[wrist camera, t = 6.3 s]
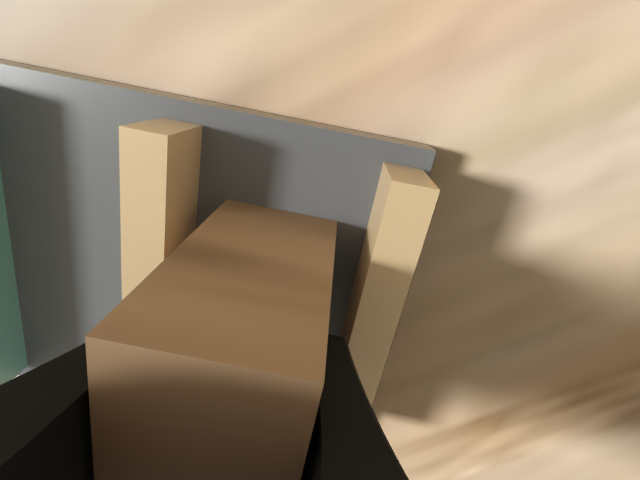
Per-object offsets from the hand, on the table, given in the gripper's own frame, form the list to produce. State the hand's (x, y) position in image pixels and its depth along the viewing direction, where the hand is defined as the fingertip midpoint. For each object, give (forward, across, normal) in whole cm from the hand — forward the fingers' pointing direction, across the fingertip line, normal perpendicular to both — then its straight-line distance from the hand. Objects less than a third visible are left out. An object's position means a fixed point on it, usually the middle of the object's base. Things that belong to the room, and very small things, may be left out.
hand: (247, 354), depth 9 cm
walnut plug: (+3, 0, 0) cm, 3 cm away
